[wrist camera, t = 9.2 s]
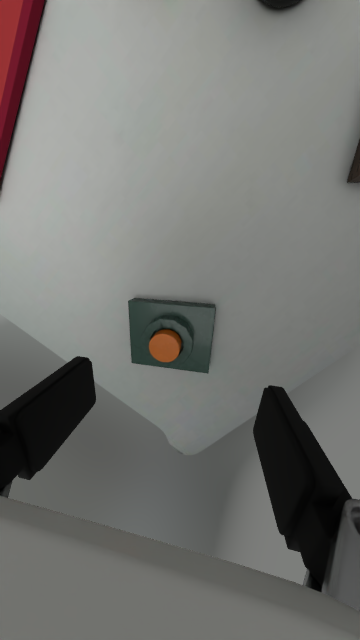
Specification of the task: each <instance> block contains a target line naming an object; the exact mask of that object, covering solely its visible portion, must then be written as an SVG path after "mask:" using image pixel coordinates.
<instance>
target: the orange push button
mask: <svg viewBox="0 0 360 640" xmlns="http://www.w3.org/2000/svg"><path fill="white" fill-rule="evenodd" d="M181 345H182V342H181V339H180V337H179V335H178V334H177V333H176V332H174V331H172V330H169V329H162V330H159V331H158V332H157V333H156V334H155V335H154V336H153V337H152V339H151V340H150V342H149V350H150V353H151V355H152V356H153V357H154V358H155V359H157V360H158V361H161V362H171V361H173V360H175V359H176V358H177V356H178V355H179V352H180V349H181Z"/></svg>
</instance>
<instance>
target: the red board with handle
mask: <svg viewBox="0 0 360 640" xmlns="http://www.w3.org/2000/svg"><path fill="white" fill-rule="evenodd" d="M44 2H45V0H0V179H1V175H2V171H3V167H4V163H5V159H6V155H7V151H8V147H9V143H10V139H11V135H12V131H13V127H14V123H15V119H16V115H17V111H18V107H19V103H20V99H21V94H22V90H23V86H24V82H25V78H26V74H27V70H28V66H29V62H30V58H31V54H32V50H33V46H34V42H35V38H36V34H37V30H38V26H39V22H40V18H41V14H42V10H43V6H44Z"/></svg>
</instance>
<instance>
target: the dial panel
mask: <svg viewBox="0 0 360 640" xmlns="http://www.w3.org/2000/svg"><path fill="white" fill-rule="evenodd" d="M347 182H360V140H359V143H358V147H357V150H356V154H355V157H354V160H353V164H352V167H351V170H350V174H349V177H348V181H347Z"/></svg>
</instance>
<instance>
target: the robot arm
mask: <svg viewBox="0 0 360 640" xmlns="http://www.w3.org/2000/svg"><path fill="white" fill-rule="evenodd" d="M95 402H96V394H95V386H94V377H93V369H92V362H91V361H90V360H89V358H86V357H80V356H77V357H75V358H74V359H72V360H71V361H70V362H68V363H67V364H65V365H64V366H63V367H61V368H60V369H58V370H57V371H55V372H54V373H53V374H51V375H50V376H48V377H47V378H46V379H44V380H43V381H41V382H40V383H39V384H37V385H36V386H34V387H33V388H31V389H30V390H29V391H27V392H26V393H24V394H23V395H21V396H20V397H19V398H17V399H16V400H14V401H13V402H11V403H10V404H9V405H7V406H6V407H4V408H3V409H2V410H0V640H360V500H357V499H352V497H351V496H350V494H349V493H348V491H347V489H346V488H345V486H344V484H343V483H342V481H341V480H340V478H339V476H338V475H337V473H336V471H335V470H334V468H333V466H332V465H331V463H330V461H329V460H328V458H327V456H326V455H325V453H324V452H323V450H322V449H321V447H320V445H319V443H318V442H317V440H316V438H315V437H314V435H313V433H312V432H311V430H310V428H309V427H308V425H307V424H306V423H305V422H304V421H303V420H302V419H301V417H300V415H299V413H298V412H297V410H296V408H295V407H294V405H293V403H292V402H291V400H290V398H289V397H288V395H287V393H286V392H285V390H284V389H283V388H282V387H277V386H271V385H270V386H268V388H264V391H263V395H262V398H261V402H260V406H259V409H258V413H257V417H256V420H255V424H254V428H253V434H254V438H255V442H256V446H257V450H258V454H259V458H260V461H261V466H262V469H263V473H264V477H265V481H266V485H267V489H268V492H269V496H270V500H271V504H272V508H273V512H274V515H275V520H276V523H277V527H278V530H279V532H280V534H281V535H284V536H285V540H286V544H287V547H288V549H290V550H294V551H298V552H301V556H302V559H303V562H304V565H305V567H306V568H307V571H306V575H305V578H304V582H303V585H300V584H298V583H295V582H292V581H289V580H286V579H283V578H280V577H276V576H273V575H270V574H267V573H264V572H261V571H258V570H254V569H251V568H248V567H245V566H242V565H239V564H236V563H232V562H229V561H226V560H222V559H219V558H215V557H212V556H209V555H205V554H202V553H198V552H195V551H191V550H188V549H185V548H181V547H178V546H175V545H171V544H168V543H164V542H161V541H157V540H154V539H151V538H147V537H144V536H140V535H137V534H133V533H130V532H126V531H123V530H120V529H116V528H112V527H109V526H105V525H102V524H99V523H95V522H92V521H88V520H85V519H81V518H77V517H74V516H70V515H67V514H64V513H60V512H56V511H53V510H49V509H46V508H42V507H39V506H35V505H31V504H28V503H24V502H21V501H17V500H14V499H10V498H8V495H9V491H10V488H11V484H12V480H13V479H14V478H15V477H16V476H17V475H18V477H20V478H24V479H27V480H30V479H31V478H32V477H33V476H34V475H35V473H36V472H38V471H40V470H41V469H42V468H43V467H44V466H45V465H46V464H47V462H48V461H49V460H50V459H51V457H52V456H53V455H54V454H55V452H56V451H57V450H58V449H59V448H60V446H61V445H62V444H63V443H64V441H65V440H66V439H67V438H68V436H69V435H70V434H71V433H72V431H73V430H74V429H75V428H76V427H77V425H78V424H79V423H80V421H81V420H82V419H83V418H84V417H85V415H86V414H87V413H88V412H89V410H90V409H91V408H92V407H93V405H94V404H95Z"/></svg>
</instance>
